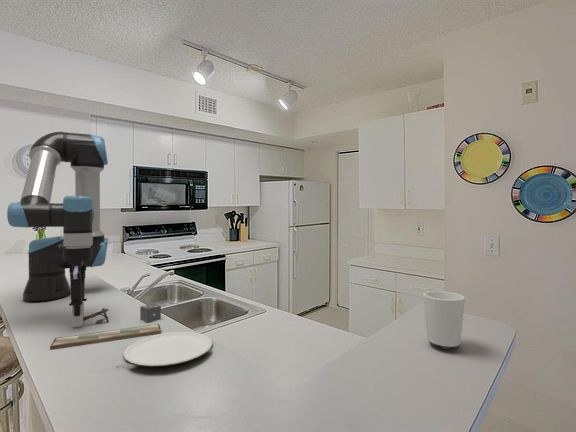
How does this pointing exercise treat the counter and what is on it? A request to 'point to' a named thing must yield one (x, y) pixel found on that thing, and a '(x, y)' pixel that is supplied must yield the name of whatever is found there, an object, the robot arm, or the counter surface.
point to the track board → (105, 336)
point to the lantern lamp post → (97, 315)
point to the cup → (444, 318)
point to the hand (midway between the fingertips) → (78, 324)
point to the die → (150, 313)
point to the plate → (167, 349)
